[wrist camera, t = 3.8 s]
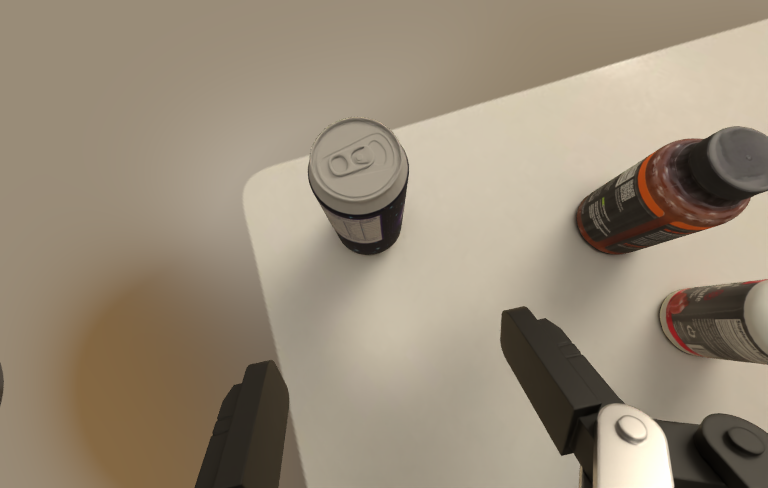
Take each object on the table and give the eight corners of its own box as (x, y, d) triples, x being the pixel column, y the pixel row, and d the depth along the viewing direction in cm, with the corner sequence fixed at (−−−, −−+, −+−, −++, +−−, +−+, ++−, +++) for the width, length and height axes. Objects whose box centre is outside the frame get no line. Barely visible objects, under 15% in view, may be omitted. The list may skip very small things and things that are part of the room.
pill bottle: (690, 276, 27) (858, 251, 17) (739, 332, 25) (947, 339, 16) (642, 311, 26) (789, 305, 16) (689, 370, 25) (877, 400, 15)
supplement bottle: (656, 237, 27) (834, 182, 16) (599, 267, 27) (744, 230, 16) (615, 181, 29) (755, 94, 18) (560, 208, 28) (669, 135, 17)
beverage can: (410, 244, 28) (427, 187, 16) (349, 265, 27) (320, 223, 16) (388, 187, 29) (388, 97, 17) (329, 208, 28) (288, 128, 17)
